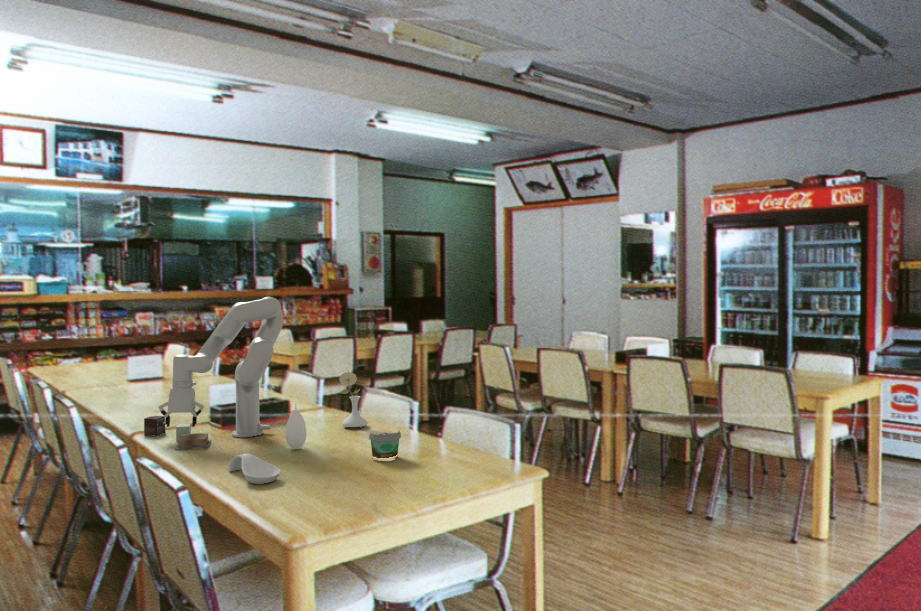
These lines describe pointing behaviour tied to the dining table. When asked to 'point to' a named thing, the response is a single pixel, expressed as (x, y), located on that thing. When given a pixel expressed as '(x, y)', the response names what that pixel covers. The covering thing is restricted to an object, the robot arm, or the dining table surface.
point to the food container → (385, 444)
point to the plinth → (193, 441)
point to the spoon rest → (254, 469)
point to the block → (182, 430)
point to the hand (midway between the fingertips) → (180, 426)
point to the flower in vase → (354, 418)
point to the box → (154, 425)
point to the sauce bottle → (295, 430)
